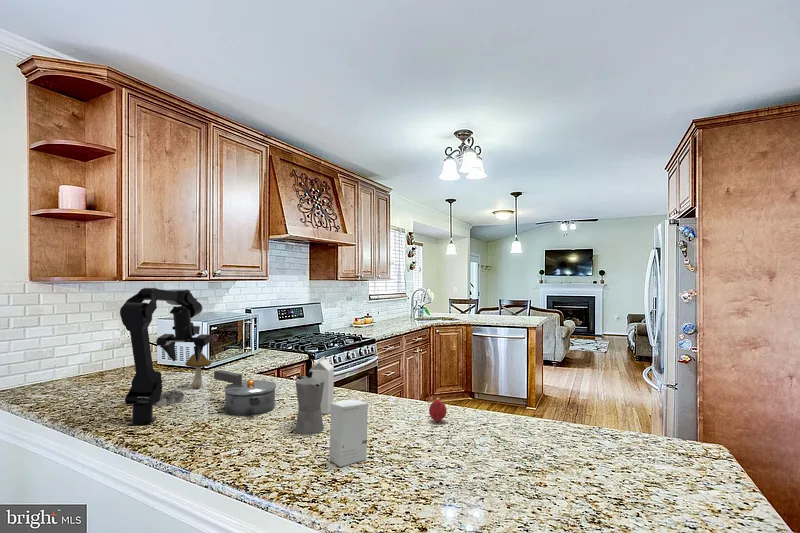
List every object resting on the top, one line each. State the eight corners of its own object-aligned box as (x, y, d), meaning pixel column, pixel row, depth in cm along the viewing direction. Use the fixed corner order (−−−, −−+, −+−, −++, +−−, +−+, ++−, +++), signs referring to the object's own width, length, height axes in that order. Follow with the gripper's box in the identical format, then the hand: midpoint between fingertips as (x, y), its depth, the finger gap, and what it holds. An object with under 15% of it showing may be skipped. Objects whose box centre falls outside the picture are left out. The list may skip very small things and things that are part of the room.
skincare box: (339, 468, 108) (340, 407, 108) (328, 459, 113) (329, 402, 113) (368, 459, 113) (368, 402, 114) (356, 452, 118) (356, 397, 118)
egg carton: (159, 408, 158) (159, 396, 158) (147, 404, 162) (148, 393, 162) (186, 401, 167) (187, 390, 167) (175, 398, 171) (175, 387, 171)
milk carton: (333, 408, 158) (334, 356, 159) (328, 414, 151) (329, 359, 152) (314, 407, 159) (315, 355, 159) (308, 413, 152) (309, 358, 152)
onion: (445, 425, 140) (445, 400, 141) (427, 424, 142) (428, 399, 142) (447, 420, 146) (447, 395, 146) (430, 418, 147) (430, 394, 148)
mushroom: (197, 392, 179) (198, 355, 180) (179, 388, 185) (180, 353, 185) (215, 387, 187) (216, 352, 188) (198, 384, 193) (198, 350, 193)
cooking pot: (280, 415, 149) (280, 395, 150) (227, 422, 142) (227, 400, 142) (269, 397, 172) (269, 379, 172) (222, 402, 165) (223, 383, 165)
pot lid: (286, 387, 159) (286, 376, 160) (244, 398, 145) (244, 385, 145) (236, 376, 176) (236, 367, 177) (195, 385, 162) (195, 374, 162)
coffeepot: (332, 433, 133) (332, 373, 133) (302, 438, 127) (303, 377, 128) (312, 419, 146) (313, 365, 146) (285, 424, 140) (286, 368, 141)
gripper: (216, 316, 172) (219, 353, 175) (170, 315, 173) (174, 352, 175) (202, 325, 161) (205, 364, 164) (153, 324, 162) (157, 363, 164)
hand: (186, 361), depth 167 cm, fingers open, 9 cm apart
